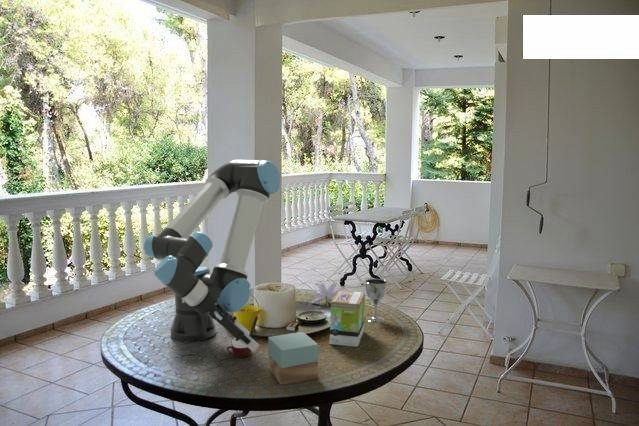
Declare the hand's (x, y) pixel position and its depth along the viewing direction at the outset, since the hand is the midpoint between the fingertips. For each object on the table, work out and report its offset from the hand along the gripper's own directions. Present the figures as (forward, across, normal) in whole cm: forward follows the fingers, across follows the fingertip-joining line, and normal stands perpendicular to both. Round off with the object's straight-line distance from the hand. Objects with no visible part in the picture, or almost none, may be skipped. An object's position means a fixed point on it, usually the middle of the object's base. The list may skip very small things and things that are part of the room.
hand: (251, 342), depth 159 cm
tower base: (+9, +17, +2) cm, 19 cm away
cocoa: (+1, 0, -5) cm, 5 cm away
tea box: (+27, -3, +21) cm, 35 cm away
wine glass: (+40, -17, +34) cm, 55 cm away
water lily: (+32, -41, +27) cm, 59 cm away
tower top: (+5, +17, +6) cm, 19 cm away
